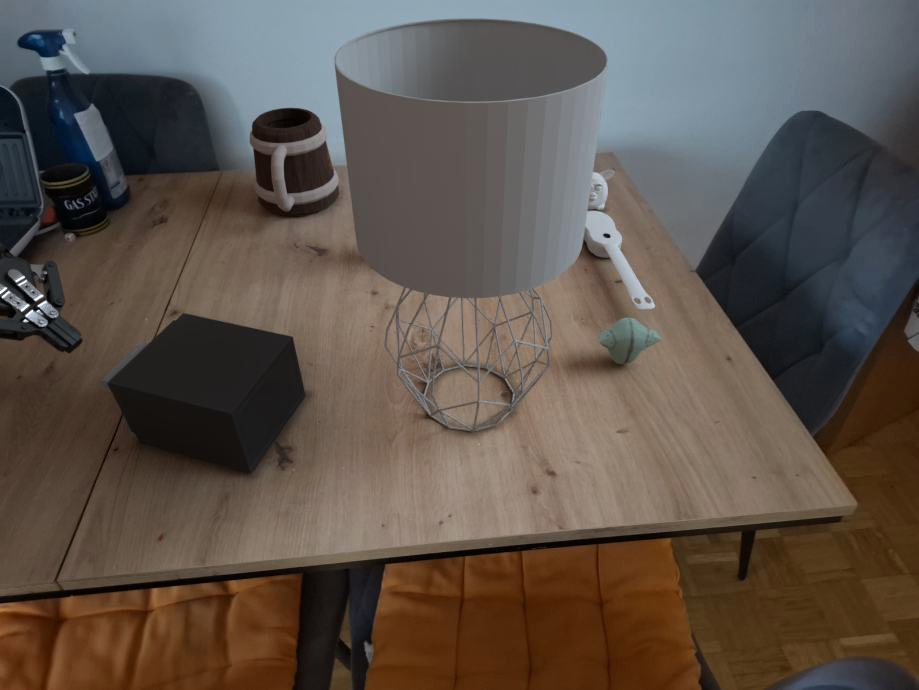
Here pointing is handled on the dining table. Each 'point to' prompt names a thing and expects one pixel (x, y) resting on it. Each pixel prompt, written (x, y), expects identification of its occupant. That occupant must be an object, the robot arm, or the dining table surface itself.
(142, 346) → the drawer
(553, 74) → the table lamp
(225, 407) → the cabinet
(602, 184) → the figurine
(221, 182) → the dining table surface
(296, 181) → the mug
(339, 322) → the dining table surface
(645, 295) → the white toy ukulele
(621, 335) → the green spinning top
